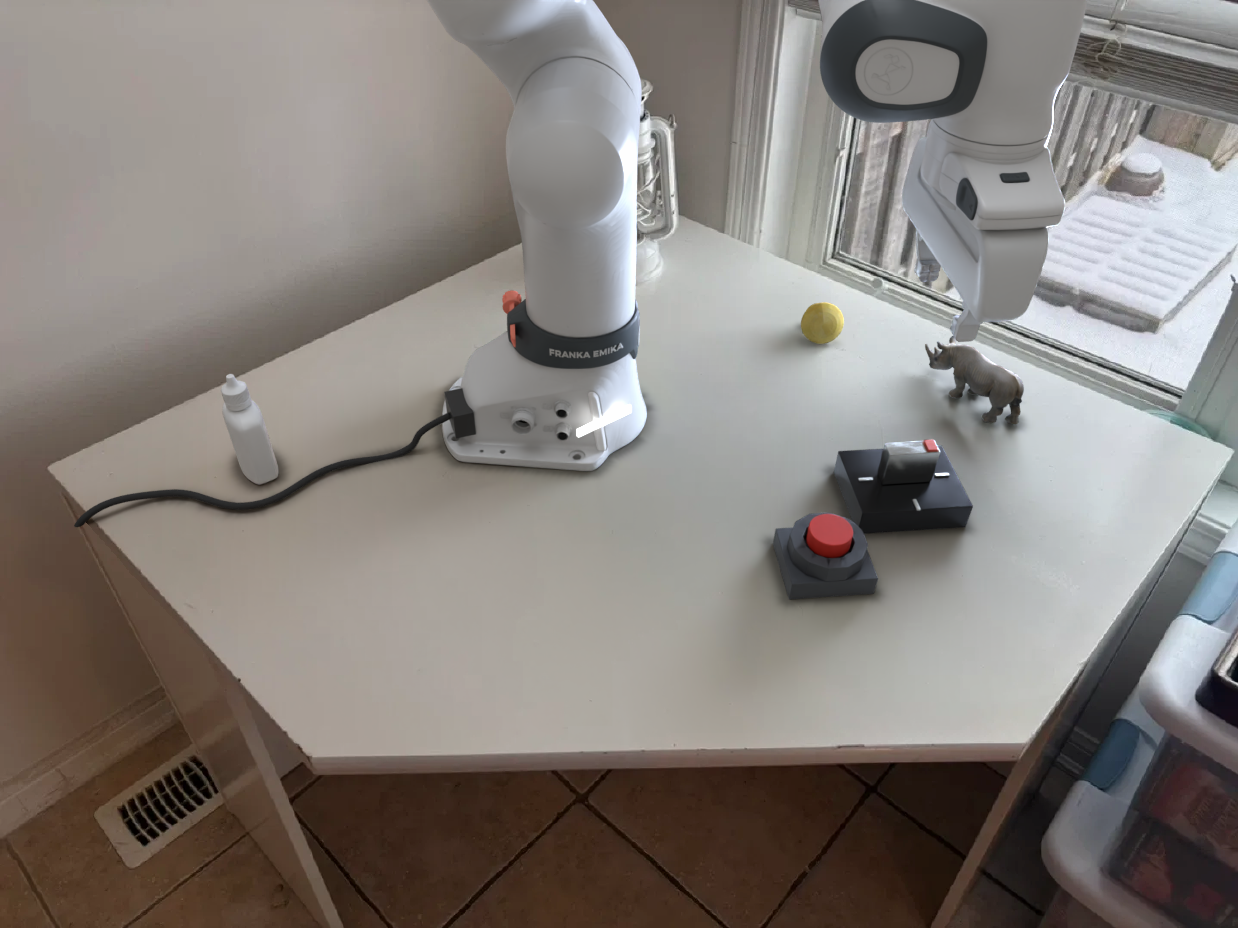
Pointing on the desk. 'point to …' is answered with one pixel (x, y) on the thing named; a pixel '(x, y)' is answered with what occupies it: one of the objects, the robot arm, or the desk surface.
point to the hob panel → (900, 496)
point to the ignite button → (829, 535)
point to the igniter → (822, 564)
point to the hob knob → (908, 462)
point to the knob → (822, 322)
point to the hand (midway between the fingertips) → (942, 306)
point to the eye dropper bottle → (248, 432)
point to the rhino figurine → (979, 378)
